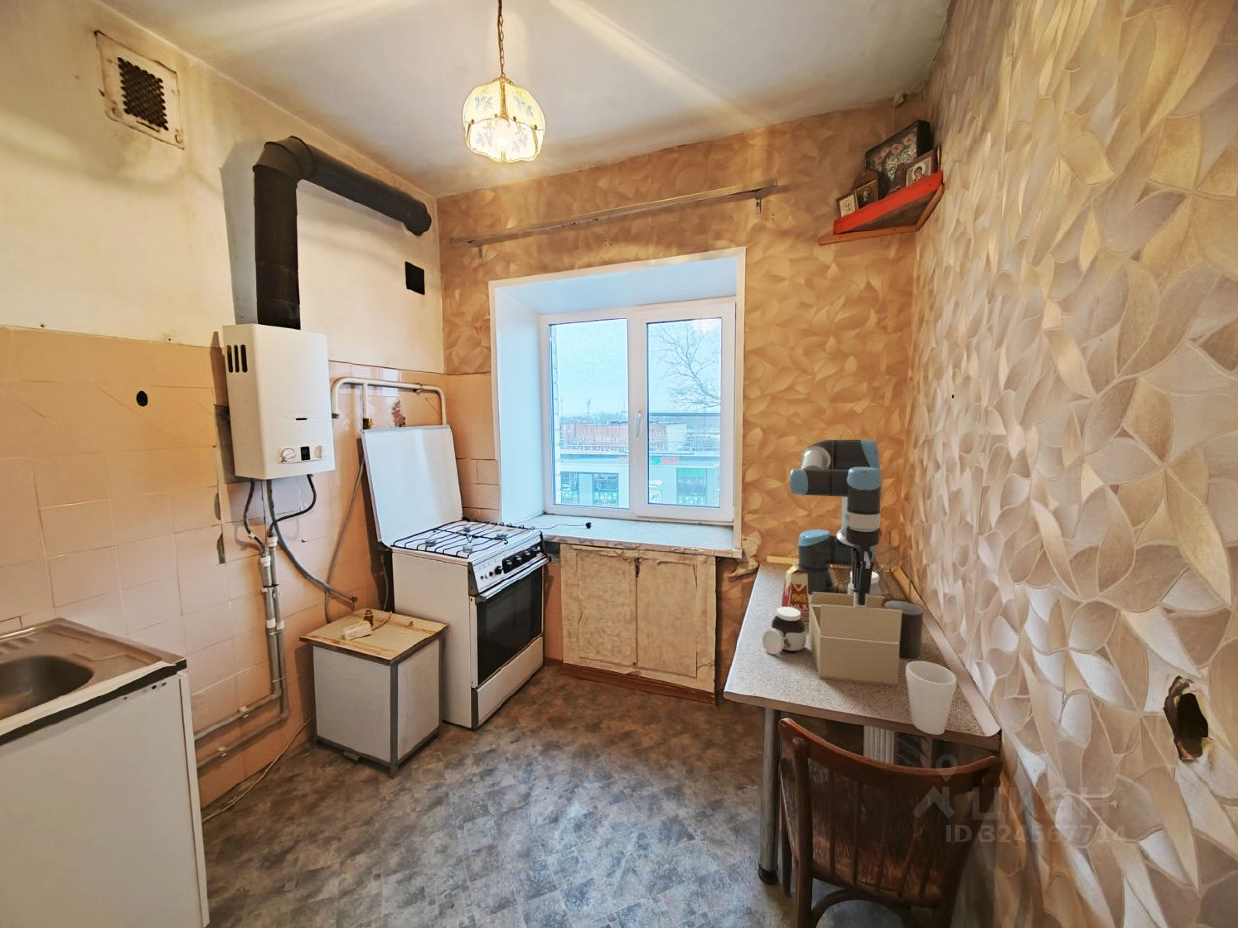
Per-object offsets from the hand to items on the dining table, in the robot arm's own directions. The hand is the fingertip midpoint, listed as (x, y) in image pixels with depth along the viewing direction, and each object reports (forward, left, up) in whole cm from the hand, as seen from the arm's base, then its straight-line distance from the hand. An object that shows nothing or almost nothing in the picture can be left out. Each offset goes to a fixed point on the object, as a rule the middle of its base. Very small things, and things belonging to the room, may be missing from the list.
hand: (859, 614), depth 118 cm
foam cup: (+14, +12, -19) cm, 27 cm away
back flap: (-16, 0, -3) cm, 17 cm away
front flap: (0, 0, -2) cm, 2 cm away
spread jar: (-14, -17, -19) cm, 29 cm away
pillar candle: (-20, +17, -19) cm, 32 cm away
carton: (-10, 0, -19) cm, 21 cm away
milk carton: (-36, -11, -19) cm, 42 cm away
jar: (-35, +10, -19) cm, 41 cm away
